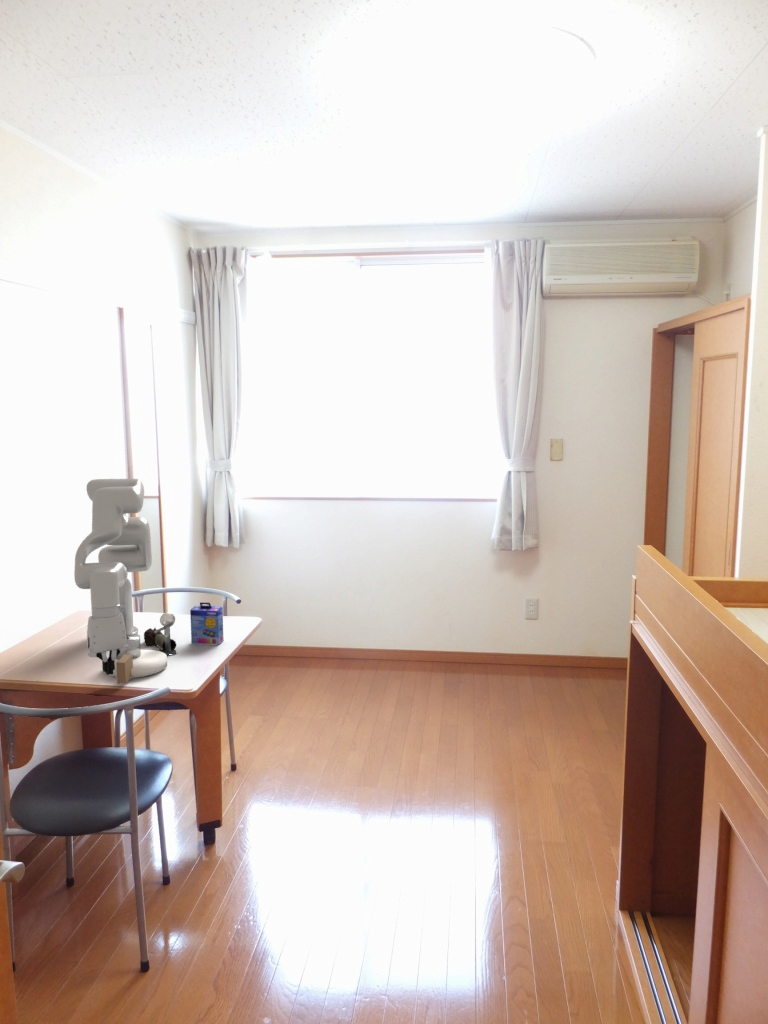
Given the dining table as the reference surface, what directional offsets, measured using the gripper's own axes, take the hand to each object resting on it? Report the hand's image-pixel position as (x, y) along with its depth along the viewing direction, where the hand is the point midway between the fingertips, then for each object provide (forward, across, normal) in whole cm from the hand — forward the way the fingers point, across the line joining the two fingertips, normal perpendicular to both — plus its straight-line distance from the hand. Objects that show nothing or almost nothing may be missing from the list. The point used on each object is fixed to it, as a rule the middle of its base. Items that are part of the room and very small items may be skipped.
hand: (108, 673), depth 212 cm
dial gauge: (+4, -22, -16) cm, 28 cm away
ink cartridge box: (+4, -39, -20) cm, 44 cm away
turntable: (+3, -9, -7) cm, 12 cm away
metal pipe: (+4, -24, -27) cm, 36 cm away
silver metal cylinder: (+1, -10, -14) cm, 17 cm away
